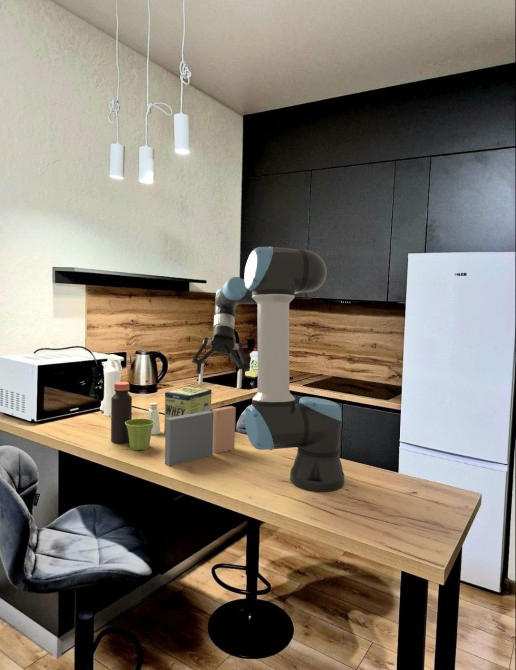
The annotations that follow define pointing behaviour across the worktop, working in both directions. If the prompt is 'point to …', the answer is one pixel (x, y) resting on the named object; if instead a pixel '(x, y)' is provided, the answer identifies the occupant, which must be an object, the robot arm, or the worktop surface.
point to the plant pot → (139, 433)
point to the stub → (224, 429)
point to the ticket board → (189, 437)
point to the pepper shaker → (154, 418)
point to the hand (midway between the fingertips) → (219, 385)
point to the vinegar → (120, 412)
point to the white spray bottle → (110, 382)
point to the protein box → (186, 401)
